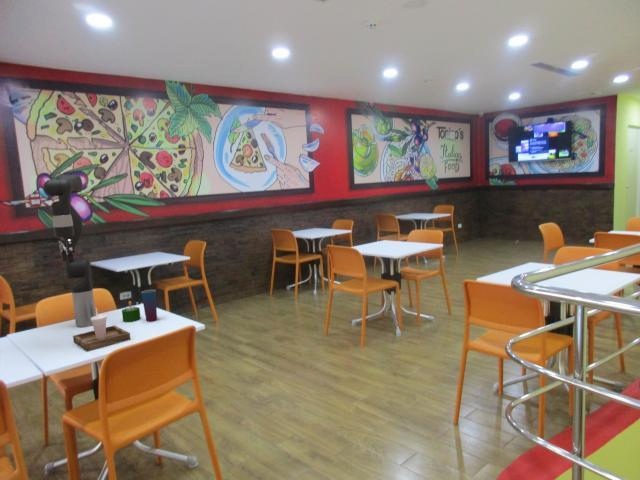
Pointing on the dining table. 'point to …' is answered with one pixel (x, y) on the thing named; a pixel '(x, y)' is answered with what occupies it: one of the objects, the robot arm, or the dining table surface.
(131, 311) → the candle
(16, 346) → the dining table surface
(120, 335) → the tray
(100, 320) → the smoothie
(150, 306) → the cup
